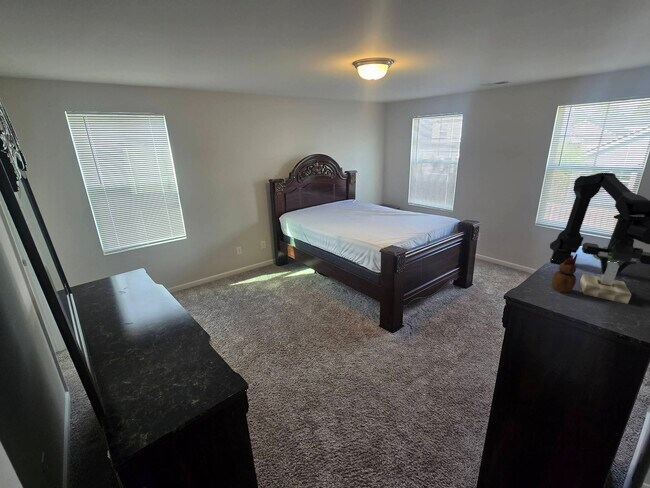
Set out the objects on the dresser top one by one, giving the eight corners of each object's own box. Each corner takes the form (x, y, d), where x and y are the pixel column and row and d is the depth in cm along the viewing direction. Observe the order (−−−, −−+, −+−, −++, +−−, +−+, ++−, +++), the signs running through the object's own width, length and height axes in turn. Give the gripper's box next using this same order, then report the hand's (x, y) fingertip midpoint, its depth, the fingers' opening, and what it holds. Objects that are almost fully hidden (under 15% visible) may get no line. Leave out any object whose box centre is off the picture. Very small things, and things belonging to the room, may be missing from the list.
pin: (600, 283, 111) (608, 264, 108) (599, 280, 113) (606, 261, 111) (611, 286, 110) (619, 266, 107) (610, 282, 112) (617, 263, 109)
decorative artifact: (618, 258, 146) (592, 253, 151) (624, 244, 143) (596, 240, 149) (622, 265, 138) (594, 259, 144) (628, 250, 136) (598, 246, 141)
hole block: (583, 294, 111) (586, 285, 110) (579, 282, 121) (582, 273, 119) (627, 304, 105) (631, 294, 104) (619, 290, 114) (623, 281, 113)
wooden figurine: (567, 288, 116) (579, 252, 110) (573, 295, 110) (586, 258, 105) (547, 285, 118) (558, 250, 112) (552, 292, 112) (563, 255, 107)
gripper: (592, 235, 103) (578, 276, 109) (670, 246, 94) (650, 291, 99) (588, 227, 112) (575, 265, 118) (658, 237, 103) (641, 278, 108)
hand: (608, 274), depth 110 cm, fingers closed on pin, 3 cm apart
